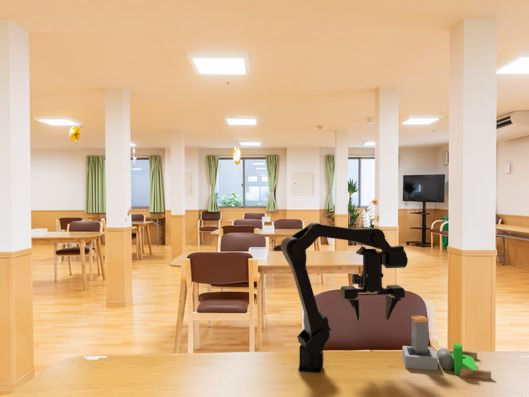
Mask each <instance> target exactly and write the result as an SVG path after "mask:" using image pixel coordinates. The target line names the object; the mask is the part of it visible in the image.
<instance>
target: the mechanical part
mask: <svg viewBox="0 0 529 397" xmlns="http://www.w3.org/2000/svg"><path fill="white" fill-rule="evenodd" d="M452 348H453V349H452V350H453V354H452V353H451V355H452V357H453V359H454V368H453V372H454V375H456V376H457V375H458V376H460V369H473V370H479V368H478V367H477V364H476V361H475V359H473V358H472V357H470V356H467V355H463V351H464V350H463V345H462V343H453V347H452Z"/></svg>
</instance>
